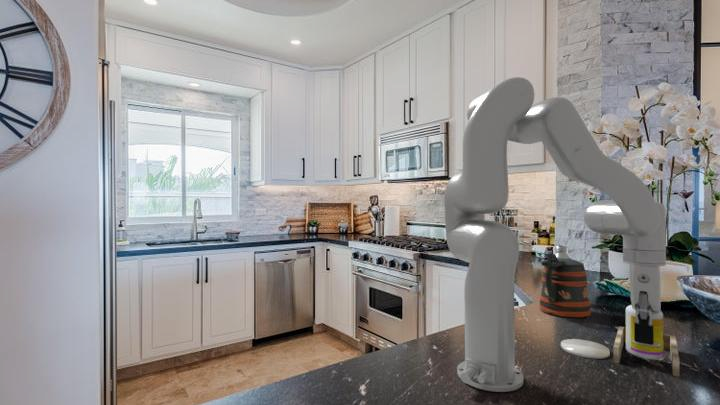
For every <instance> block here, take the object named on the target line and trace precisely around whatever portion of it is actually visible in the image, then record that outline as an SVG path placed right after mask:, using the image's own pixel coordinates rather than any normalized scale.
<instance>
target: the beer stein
mask: <svg viewBox="0 0 720 405" xmlns="http://www.w3.org/2000/svg"><path fill="white" fill-rule="evenodd" d="M541 266H542V267H543V266H544V267H543V269H542V270H543V272H542V276H541V281H542V284H541V293H540V296H539V306H538V308H539V310H540V311H542V312H543V313H546V314H549V315H553V316H556V317H557V316H559V317H563V318H573V319H581V318H588V317H590V316H591V314H592V312H591V302H590V298H589V293H588V285H589V284H588V278H587V270H585V265H584V263H583V262H580V261H578V260H575V259H572V258H569V259H565V258H557V256H556V255H555V253H552V252H548V253H547V259H545V260H543V261H542V262H541Z"/></svg>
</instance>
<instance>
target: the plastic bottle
mask: <svg viewBox="0 0 720 405" xmlns="http://www.w3.org/2000/svg"><path fill="white" fill-rule="evenodd" d="M554 251H555V253H554V254H555V255H556V256H557V258H565V259H569V258H570V256H569V254H568V253H567V252H568V250H567V245H555V249H554Z"/></svg>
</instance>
